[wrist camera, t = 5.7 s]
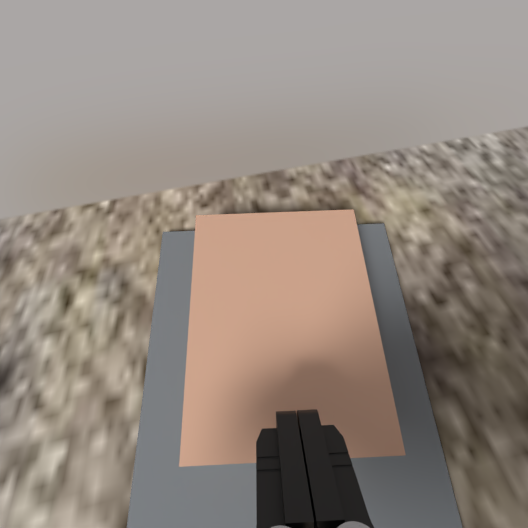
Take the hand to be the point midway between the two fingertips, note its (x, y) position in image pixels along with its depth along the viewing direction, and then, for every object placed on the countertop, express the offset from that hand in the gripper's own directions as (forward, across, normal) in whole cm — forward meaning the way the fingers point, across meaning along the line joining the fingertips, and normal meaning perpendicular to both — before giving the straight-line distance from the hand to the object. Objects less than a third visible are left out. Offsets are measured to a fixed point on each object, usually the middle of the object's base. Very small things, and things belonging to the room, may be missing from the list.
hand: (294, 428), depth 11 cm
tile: (+1, 0, +3) cm, 3 cm away
